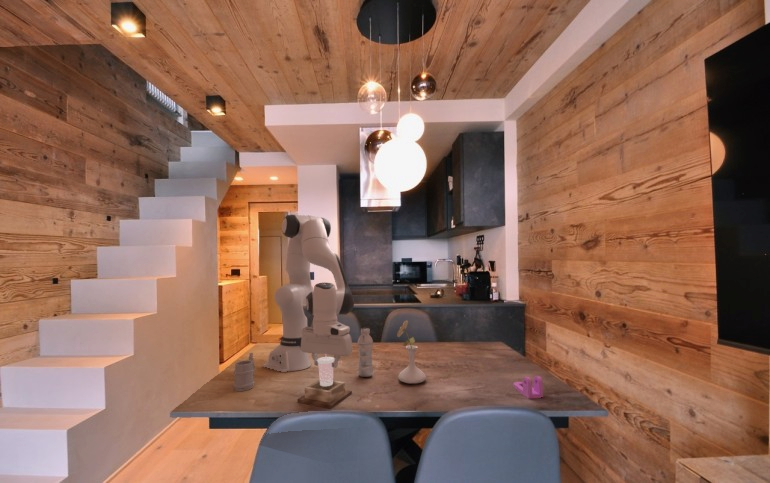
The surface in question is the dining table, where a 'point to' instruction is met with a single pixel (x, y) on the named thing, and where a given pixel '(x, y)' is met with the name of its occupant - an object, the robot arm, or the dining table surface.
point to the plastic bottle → (365, 353)
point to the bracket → (530, 387)
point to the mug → (244, 374)
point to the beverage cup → (325, 370)
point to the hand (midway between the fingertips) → (326, 366)
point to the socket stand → (325, 394)
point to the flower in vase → (410, 361)
